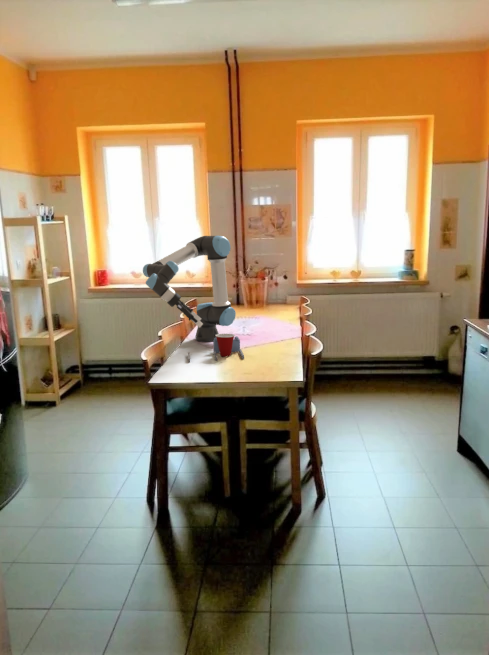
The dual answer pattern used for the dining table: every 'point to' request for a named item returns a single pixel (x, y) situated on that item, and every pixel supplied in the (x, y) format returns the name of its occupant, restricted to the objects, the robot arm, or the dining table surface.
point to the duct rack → (216, 350)
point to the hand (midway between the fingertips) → (200, 323)
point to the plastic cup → (225, 344)
